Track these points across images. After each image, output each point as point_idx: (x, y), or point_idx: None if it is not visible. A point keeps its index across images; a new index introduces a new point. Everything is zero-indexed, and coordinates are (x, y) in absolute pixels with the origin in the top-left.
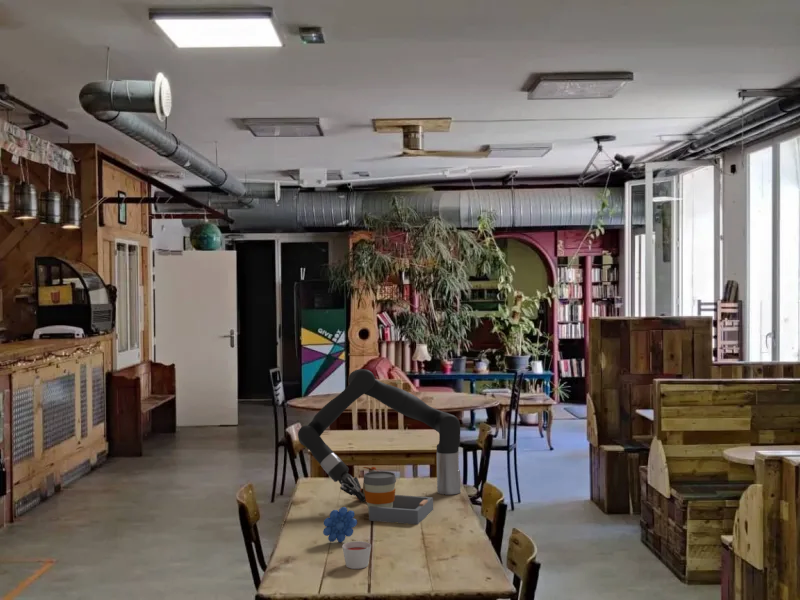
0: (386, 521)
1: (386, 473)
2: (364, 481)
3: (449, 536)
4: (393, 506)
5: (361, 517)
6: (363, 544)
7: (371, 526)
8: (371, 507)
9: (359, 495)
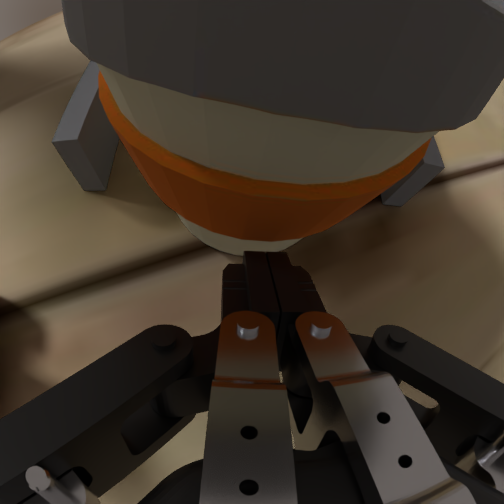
0: None
1: None
2: (493, 93)
3: None
4: (113, 140)
5: (367, 270)
6: None
7: (457, 177)
8: (438, 153)
9: (317, 300)
